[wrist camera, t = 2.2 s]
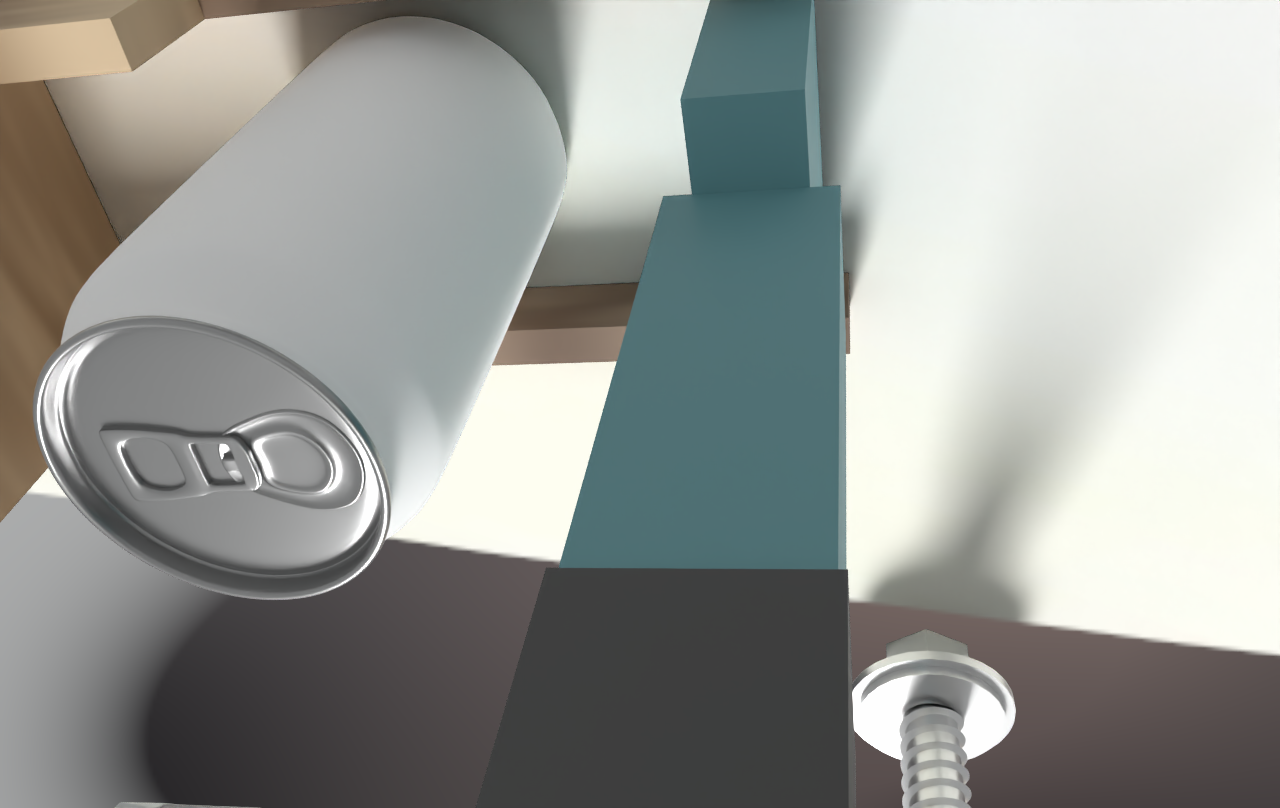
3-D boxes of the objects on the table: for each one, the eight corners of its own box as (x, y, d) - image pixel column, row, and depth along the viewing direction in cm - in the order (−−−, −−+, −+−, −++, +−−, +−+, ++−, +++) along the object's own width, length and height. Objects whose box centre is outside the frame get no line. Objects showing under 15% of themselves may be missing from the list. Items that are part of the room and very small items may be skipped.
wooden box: (835, -129, 22) (831, 1, 15) (849, 307, 27) (851, 532, 21) (-46, -25, 25) (-337, 112, 19) (131, 336, 31) (-48, 533, 25)
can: (591, 258, 28) (460, 622, 18) (350, 269, 29) (111, 615, 19) (543, -5, 24) (346, 284, 14) (268, 21, 25) (-79, 301, 16)
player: (843, -27, 22) (842, 837, 7) (851, 254, 26) (862, 1202, 11) (685, -11, 23) (385, 812, 8) (715, 260, 27) (552, 1166, 12)
